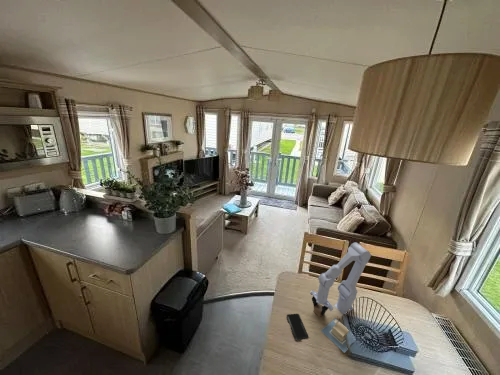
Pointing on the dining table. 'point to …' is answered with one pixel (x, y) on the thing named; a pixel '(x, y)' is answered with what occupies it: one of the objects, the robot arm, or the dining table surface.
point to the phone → (297, 327)
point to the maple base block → (340, 331)
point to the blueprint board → (332, 337)
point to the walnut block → (318, 309)
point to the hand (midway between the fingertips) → (319, 311)
